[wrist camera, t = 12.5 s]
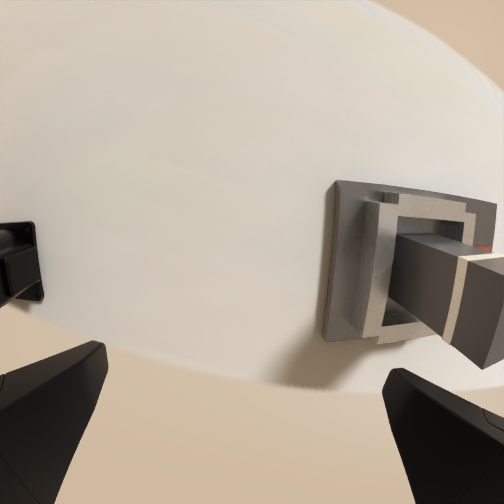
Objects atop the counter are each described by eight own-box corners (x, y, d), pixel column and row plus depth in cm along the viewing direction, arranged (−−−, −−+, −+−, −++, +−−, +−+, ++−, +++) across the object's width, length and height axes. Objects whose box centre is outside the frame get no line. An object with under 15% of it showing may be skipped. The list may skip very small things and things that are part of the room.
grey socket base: (321, 335, 22) (334, 355, 19) (335, 180, 20) (353, 180, 17) (471, 315, 24) (488, 326, 21) (490, 202, 21) (511, 206, 18)
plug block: (388, 297, 21) (481, 370, 10) (394, 233, 20) (508, 276, 9) (426, 292, 21) (518, 351, 11) (433, 233, 20) (540, 269, 10)
